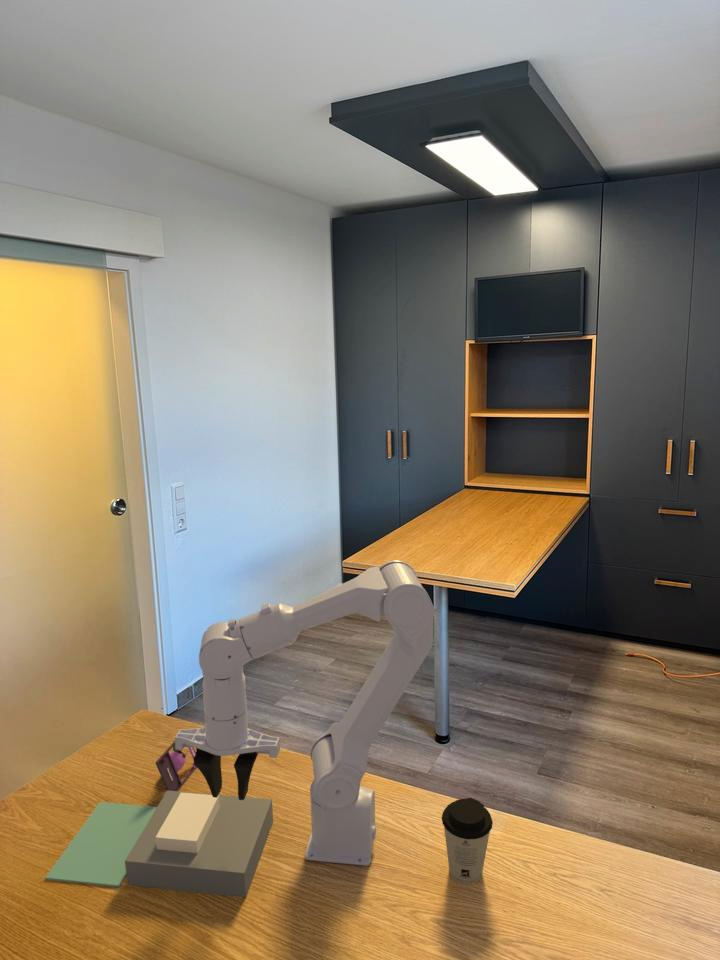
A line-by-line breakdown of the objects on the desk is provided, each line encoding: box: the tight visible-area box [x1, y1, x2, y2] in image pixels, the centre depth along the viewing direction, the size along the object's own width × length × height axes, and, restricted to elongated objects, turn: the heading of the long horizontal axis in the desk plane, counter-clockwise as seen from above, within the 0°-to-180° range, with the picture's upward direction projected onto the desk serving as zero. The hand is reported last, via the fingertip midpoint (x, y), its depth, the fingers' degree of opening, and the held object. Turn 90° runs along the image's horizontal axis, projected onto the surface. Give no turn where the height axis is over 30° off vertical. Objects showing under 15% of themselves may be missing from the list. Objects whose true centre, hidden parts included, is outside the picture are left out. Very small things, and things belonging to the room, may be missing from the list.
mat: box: [44, 801, 157, 888], centre depth 100 cm, size 11×15×1 cm
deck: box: [125, 789, 274, 898], centre depth 97 cm, size 17×14×4 cm
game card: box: [155, 740, 198, 792], centre depth 113 cm, size 7×5×9 cm
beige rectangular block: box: [156, 791, 220, 853], centre depth 97 cm, size 6×9×2 cm, turn 172°
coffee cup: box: [441, 797, 494, 885], centre depth 92 cm, size 7×7×10 cm
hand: (230, 793), depth 94 cm, fingers open, 3 cm apart
